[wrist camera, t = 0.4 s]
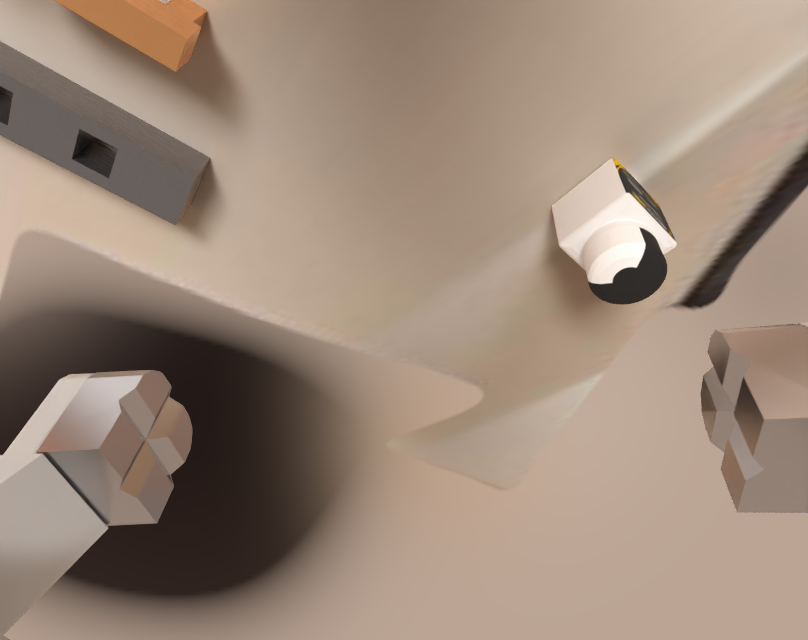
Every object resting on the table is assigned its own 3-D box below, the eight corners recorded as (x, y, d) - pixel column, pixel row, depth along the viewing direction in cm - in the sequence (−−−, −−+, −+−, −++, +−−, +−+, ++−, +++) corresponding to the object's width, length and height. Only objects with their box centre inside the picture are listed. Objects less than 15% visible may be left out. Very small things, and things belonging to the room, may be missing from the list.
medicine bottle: (659, 204, 56) (695, 280, 47) (596, 250, 60) (618, 328, 51) (613, 154, 54) (641, 224, 44) (549, 205, 57) (563, 279, 48)
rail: (-86, 58, 54) (-120, 73, 51) (-83, -5, 50) (-119, 7, 47) (190, 204, 61) (175, 225, 58) (210, 158, 57) (195, 177, 54)
